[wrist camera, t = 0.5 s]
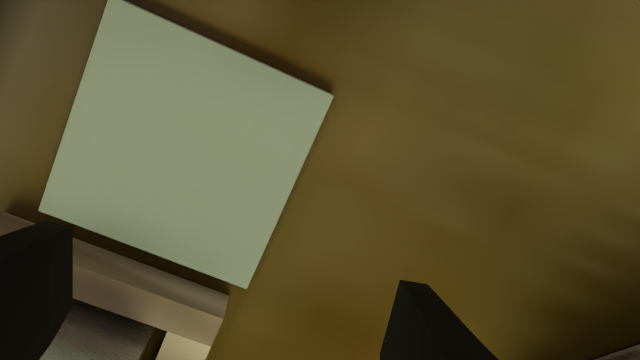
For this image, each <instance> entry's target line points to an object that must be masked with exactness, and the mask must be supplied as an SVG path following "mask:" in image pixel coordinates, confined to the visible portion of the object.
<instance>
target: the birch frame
mask: <svg viewBox="0 0 640 360" xmlns="http://www.w3.org/2000/svg"><path fill="white" fill-rule="evenodd" d="M34 224H36V223H33V222H30V221H28V220H25V219H22V218H20V217H17V216H14V215H11V214H9V213H6V212H4V213H2V214H1V215H0V236H2V235H5V234H7V233H10V232H13V231H16V230H19V229H22V228H25V227H28V226H31V225H34ZM73 298H74V299H77V300H80V301H83V302H85V303H88V304H91V305H94V306H97V307H100V308H102V309H105V310H108V311H111V312H114V313H117V314H119V315H122V316H125V317H128V318H131V319H133V320H136V321H139V322H142V323H145V324H148V325H150V326H153V327H156V328H159V329H162V330H165V331H167V334H166V336H165V338H164V341H163V343H162V345H161V348H160V350H159V353H158V355H157V357H156V360H205V359H206V357H207V355H208V353H209V351H210V348H211V346H212V344H213V342H214V339H215V337H216V335H217V333H218V330H219V328H220V326H221V324H222V321H223V319H224V315H225V311H226V307H227V303H228V299H229V295H226V294H223V293H221V292H218V291H215V290H213V289H210V288H207V287H205V286H202V285H199V284H197V283H194V282H191V281H189V280H186V279H183V278H181V277H178V276H175V275H172V274H170V273H167V272H164V271H162V270H159V269H156V268H154V267H151V266H148V265H146V264H143V263H140V262H138V261H135V260H132V259H130V258H127V257H124V256H121V255H119V254H116V253H113V252H111V251H108V250H105V249H103V248H100V247H97V246H95V245H92V244H89V243H87V242H84V241H81V240H79V239H76V238H73Z"/></svg>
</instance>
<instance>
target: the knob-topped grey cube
mask: <svg viewBox="0 0 640 360" xmlns="http://www.w3.org/2000/svg"><path fill="white" fill-rule="evenodd" d="M154 328H155V327H153V326H150V325H148V324H145V323H142V322H139V321H136V320H133V319H131V318H128V317H125V316H122V315H119V314H117V313H114V312H111V311H108V310H105V309H102V308H100V307H97V306H94V305H91V304H88V303H85V302H83V301H80V300H77V299H74V298H73V306H72V308H71V310H70V312H69V313H68V315H67V317H66V319H65V321H64V322H63V324H62V326H61V328H60V330H59V331H58V333H57V335H56V336H55V338H54V340H53V341H52V343H51V345H50V346H49V347H48V349H47V350H46V351H45V353H44V354H43V355H42V357H41V358H40V359H39V360H142V357H143V355H144V353H145V350H146V348H147V345H148V343H149V341H150V338H151V336H152V333H153V331H154Z"/></svg>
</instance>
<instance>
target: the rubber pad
mask: <svg viewBox="0 0 640 360" xmlns="http://www.w3.org/2000/svg"><path fill="white" fill-rule="evenodd" d="M333 97H334V96H333V94H331V93H329V92H327V91H324V90H322V89H320V88H318V87H316V86H313V85H311V84H309V83H307V82H304V81H302V80H300V79H298V78H296V77H293V76H291V75H289V74H287V73H285V72H282V71H280V70H278V69H276V68H273V67H271V66H269V65H267V64H265V63H262V62H260V61H258V60H256V59H254V58H251V57H249V56H247V55H245V54H242V53H240V52H238V51H236V50H234V49H231V48H229V47H227V46H225V45H223V44H220V43H218V42H216V41H214V40H211V39H209V38H207V37H205V36H203V35H200V34H198V33H196V32H194V31H192V30H189V29H187V28H185V27H183V26H180V25H178V24H176V23H174V22H172V21H169V20H167V19H165V18H163V17H161V16H158V15H156V14H154V13H152V12H149V11H147V10H145V9H143V8H141V7H138V6H136V5H134V4H132V3H130V2H127V1H125V0H108V1H107V4H106V7H105V10H104V13H103V16H102V19H101V22H100V25H99V28H98V31H97V34H96V37H95V41H94V44H93V47H92V50H91V53H90V56H89V59H88V62H87V65H86V68H85V71H84V74H83V77H82V80H81V83H80V86H79V89H78V92H77V95H76V98H75V101H74V104H73V107H72V110H71V113H70V116H69V119H68V122H67V125H66V128H65V131H64V134H63V137H62V140H61V143H60V146H59V149H58V152H57V155H56V158H55V161H54V164H53V167H52V170H51V173H50V176H49V179H48V182H47V185H46V189H45V192H44V195H43V198H42V201H41V204H40V207H39V210H38V211H40V212H43V213H46V214H48V215H51V216H54V217H56V218H59V219H61V220H64V221H67V222H69V223H72V224H75V225H77V226H80V227H83V228H85V229H88V230H91V231H93V232H96V233H99V234H101V235H104V236H107V237H109V238H112V239H115V240H117V241H120V242H123V243H125V244H128V245H130V246H133V247H136V248H138V249H141V250H144V251H146V252H149V253H152V254H154V255H157V256H160V257H162V258H165V259H168V260H170V261H173V262H176V263H178V264H181V265H184V266H186V267H189V268H192V269H194V270H197V271H199V272H202V273H205V274H207V275H210V276H213V277H215V278H218V279H221V280H223V281H226V282H229V283H231V284H234V285H237V286H239V287H242V288H245V289H247V287H248V285H249V283H250V281H251V279H252V276H253V274H254V272H255V270H256V268H257V265H258V263H259V261H260V259H261V256H262V254H263V252H264V250H265V248H266V245H267V243H268V241H269V239H270V237H271V234H272V232H273V230H274V228H275V225H276V223H277V221H278V219H279V217H280V214H281V212H282V210H283V208H284V206H285V203H286V201H287V199H288V197H289V194H290V192H291V190H292V188H293V186H294V183H295V181H296V179H297V177H298V175H299V172H300V170H301V168H302V166H303V163H304V161H305V159H306V157H307V155H308V152H309V150H310V148H311V146H312V144H313V141H314V139H315V137H316V135H317V132H318V130H319V128H320V126H321V124H322V121H323V119H324V117H325V115H326V113H327V110H328V108H329V106H330V104H331V101H332V99H333Z"/></svg>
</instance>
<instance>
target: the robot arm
mask: <svg viewBox="0 0 640 360" xmlns="http://www.w3.org/2000/svg"><path fill="white" fill-rule="evenodd" d="M72 306H73V226H66V225H60V224H54V223H48V222H42V223H38V224H34V225H31V226H28V227H25V228H22V229H19V230H16V231H13V232H10V233H7V234H5V235H2V236H0V360H39V359H40V358H41V357H42V355H43V354H44V353H45V351H46V350H47V349H48V347H49V346H50V345H51V343H52V341H53V340H54V338H55V336H56V335H57V333H58V331H59V330H60V328H61V326H62V324H63V322H64V321H65V319H66V317H67V315H68V313H69V312H70V310H71V308H72ZM380 360H498V359H497V358H496V357H495V356H494V355H493V354H492V353H491V352H490V351H489V350H488V349H487V348H486V347H485V346H484V345H483V344H482V343H481V342H480V341H479V340H478V339H477V338H476V337H475V335H474V334H473V333H472V332H471V331H470V330H469V329H468V328H467V327H466V326H465V325H464V324H463V323H462V321H461V320H460V319H459V318H458V317H457V316H456V315H455V314H454V313H453V312H452V310H451V309H450V308H449V307H448V306H447V305H446V304H445V303H444V302H443V300H442V299H441V298H440V297H439V296H438V295H437V294H436V293H435V292H434V291H433V290H432V289H431V288H430V287H429V286H428V285H427V284H422V283H416V282H410V281H404V280H400V282H399V286H398V289H397V293H396V297H395V300H394V304H393V308H392V311H391V315H390V319H389V322H388V326H387V330H386V333H385V337H384V341H383V344H382V348H381V352H380Z"/></svg>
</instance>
